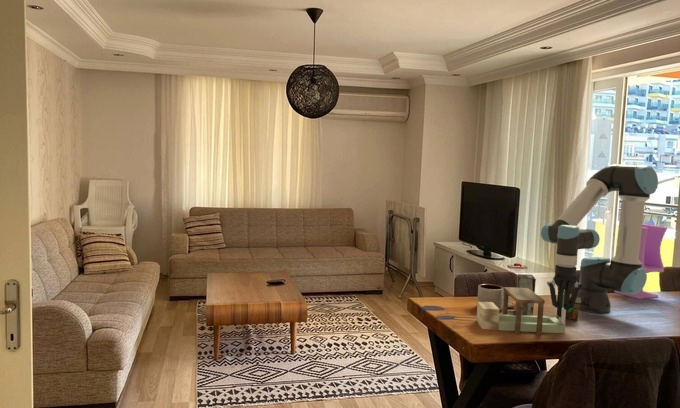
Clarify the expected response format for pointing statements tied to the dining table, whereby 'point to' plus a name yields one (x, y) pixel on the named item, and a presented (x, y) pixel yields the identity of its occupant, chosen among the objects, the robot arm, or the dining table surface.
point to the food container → (573, 310)
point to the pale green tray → (531, 323)
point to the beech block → (488, 315)
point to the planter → (491, 294)
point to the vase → (649, 254)
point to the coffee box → (526, 282)
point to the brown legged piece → (524, 305)
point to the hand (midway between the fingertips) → (561, 324)
